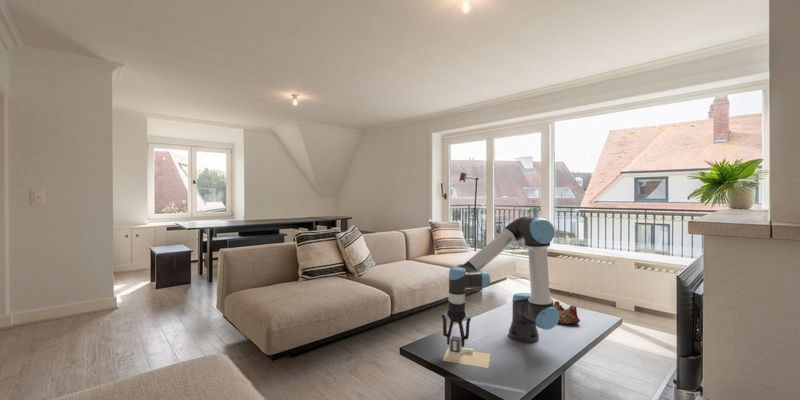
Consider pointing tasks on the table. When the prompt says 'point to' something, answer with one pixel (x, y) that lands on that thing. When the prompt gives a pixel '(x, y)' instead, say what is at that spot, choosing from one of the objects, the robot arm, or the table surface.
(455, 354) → the board
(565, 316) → the coral
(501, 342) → the table surface
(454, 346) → the plug
